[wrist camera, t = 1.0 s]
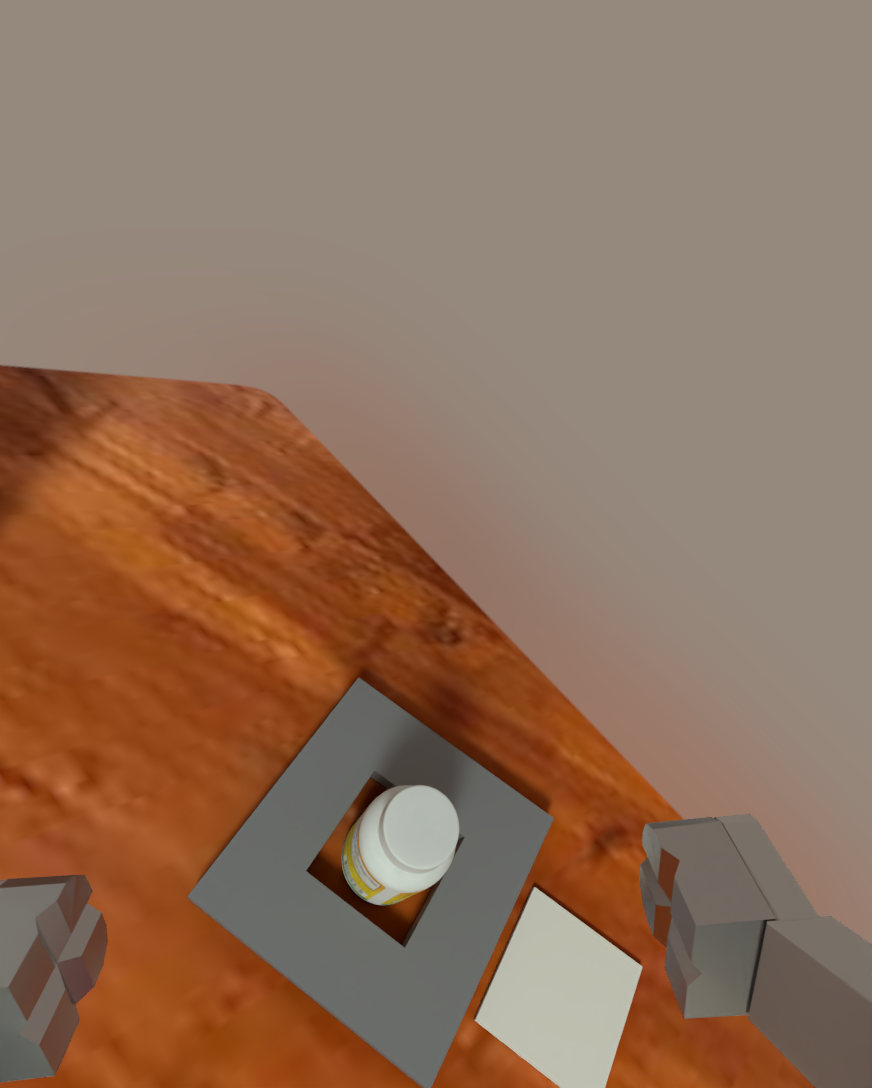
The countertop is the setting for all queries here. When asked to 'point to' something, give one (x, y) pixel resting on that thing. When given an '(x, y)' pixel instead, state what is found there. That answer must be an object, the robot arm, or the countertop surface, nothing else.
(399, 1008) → the housing plate
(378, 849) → the supplement bottle
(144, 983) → the countertop surface
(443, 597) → the countertop surface
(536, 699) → the countertop surface
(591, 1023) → the mat
